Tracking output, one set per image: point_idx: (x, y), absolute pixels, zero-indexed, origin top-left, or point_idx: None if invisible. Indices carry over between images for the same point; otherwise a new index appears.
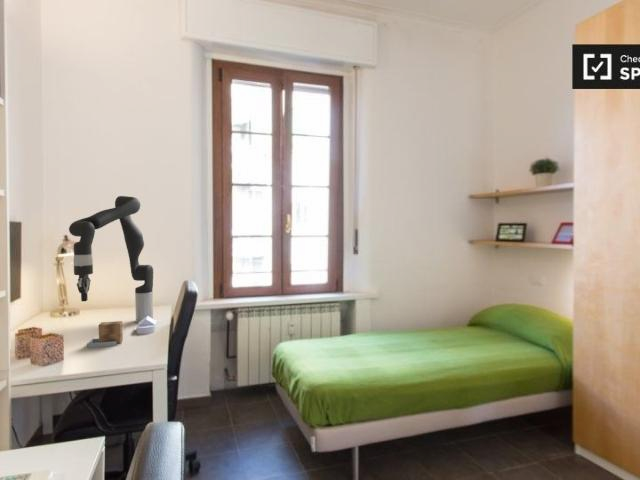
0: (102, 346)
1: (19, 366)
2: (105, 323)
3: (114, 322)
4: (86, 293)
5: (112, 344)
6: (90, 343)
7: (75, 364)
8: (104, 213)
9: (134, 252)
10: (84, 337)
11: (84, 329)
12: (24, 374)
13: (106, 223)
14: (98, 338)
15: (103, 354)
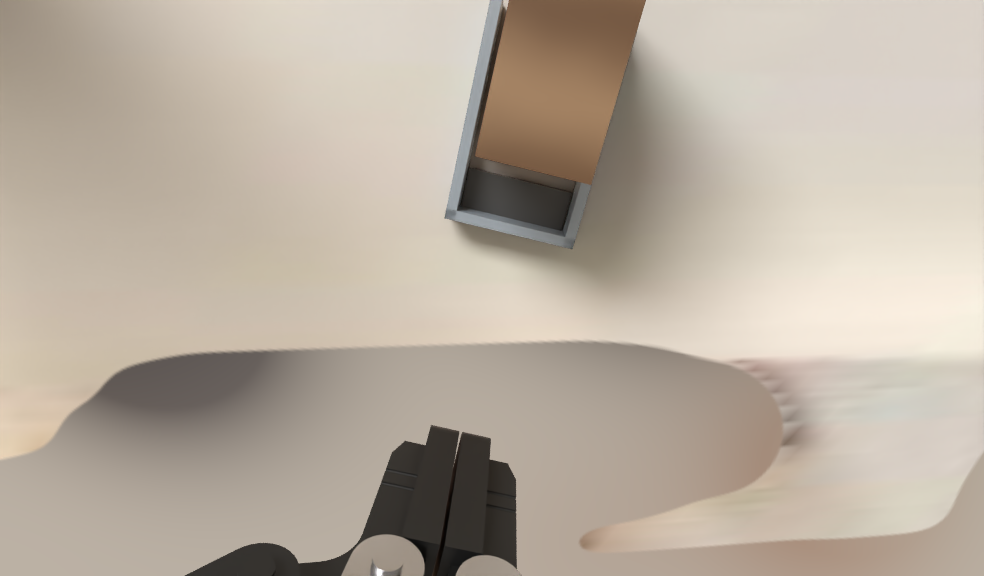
0: None
1: (720, 535)
2: (551, 114)
3: (558, 9)
4: (485, 550)
5: None
6: (578, 227)
7: (904, 300)
8: None
9: None
10: (261, 262)
11: (12, 265)
12: (881, 507)
13: None
14: (459, 171)
15: (809, 138)
